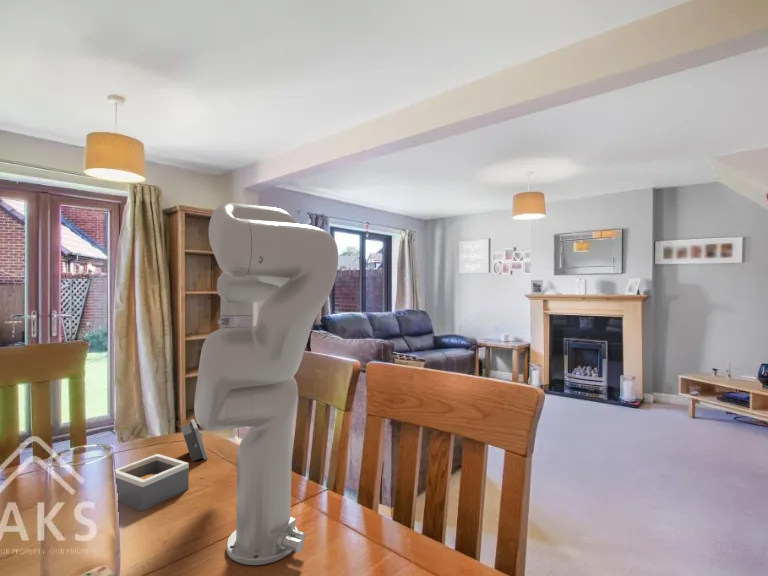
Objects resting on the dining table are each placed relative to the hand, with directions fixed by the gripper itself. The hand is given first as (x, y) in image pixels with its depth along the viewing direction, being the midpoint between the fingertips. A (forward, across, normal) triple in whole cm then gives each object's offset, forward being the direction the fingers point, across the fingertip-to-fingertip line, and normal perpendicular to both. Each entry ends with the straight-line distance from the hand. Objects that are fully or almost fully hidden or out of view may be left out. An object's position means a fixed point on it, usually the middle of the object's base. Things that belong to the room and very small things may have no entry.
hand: (235, 397), depth 102 cm
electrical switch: (+20, +5, +20) cm, 29 cm away
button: (+19, -14, +11) cm, 26 cm away
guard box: (+20, -14, +11) cm, 27 cm away
